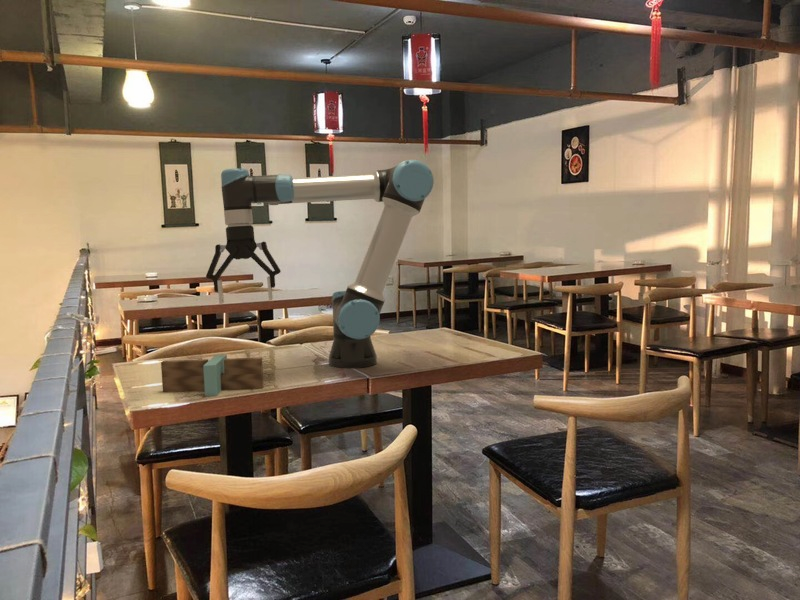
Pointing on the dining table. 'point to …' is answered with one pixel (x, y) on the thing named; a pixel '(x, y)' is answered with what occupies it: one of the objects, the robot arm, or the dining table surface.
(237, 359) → the walnut board
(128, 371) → the dining table surface
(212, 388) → the teal green block
